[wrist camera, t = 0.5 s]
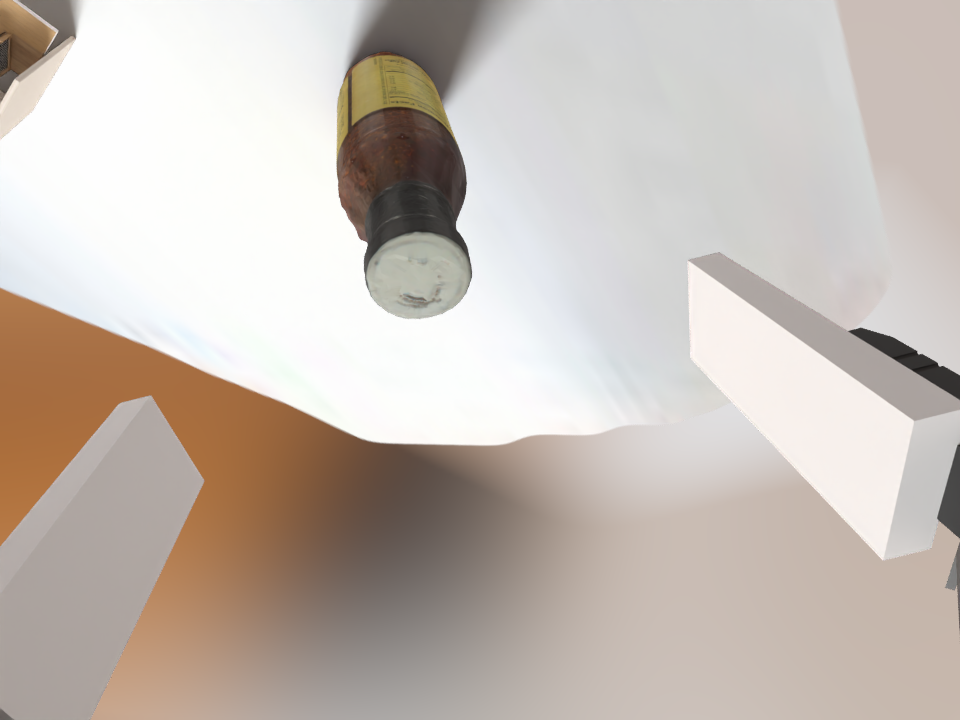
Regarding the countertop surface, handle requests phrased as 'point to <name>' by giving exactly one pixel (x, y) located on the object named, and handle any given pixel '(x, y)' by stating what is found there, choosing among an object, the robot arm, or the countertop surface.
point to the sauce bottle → (402, 186)
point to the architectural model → (26, 60)
